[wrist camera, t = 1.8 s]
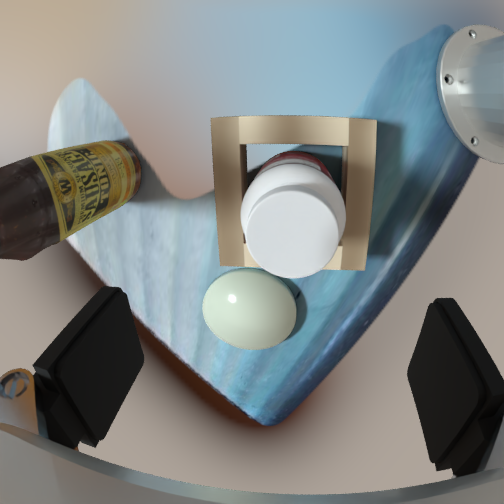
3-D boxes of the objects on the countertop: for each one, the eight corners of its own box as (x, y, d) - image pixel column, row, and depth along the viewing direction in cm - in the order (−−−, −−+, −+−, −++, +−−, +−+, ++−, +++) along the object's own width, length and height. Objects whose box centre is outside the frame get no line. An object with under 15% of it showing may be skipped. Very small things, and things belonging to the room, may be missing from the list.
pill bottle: (327, 226, 26) (343, 298, 17) (254, 219, 27) (228, 287, 17) (336, 153, 24) (363, 183, 14) (258, 146, 24) (230, 171, 14)
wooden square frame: (367, 119, 22) (376, 120, 19) (358, 254, 27) (364, 270, 24) (220, 117, 24) (210, 118, 21) (227, 250, 29) (220, 265, 26)
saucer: (298, 269, 28) (298, 275, 28) (294, 345, 32) (294, 352, 31) (200, 266, 30) (197, 271, 29) (210, 340, 33) (207, 346, 33)
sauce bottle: (155, 192, 27) (-18, 324, 9) (103, 210, 29) (-54, 328, 11) (131, 124, 25) (-77, 183, 7) (80, 149, 26) (-100, 225, 8)
